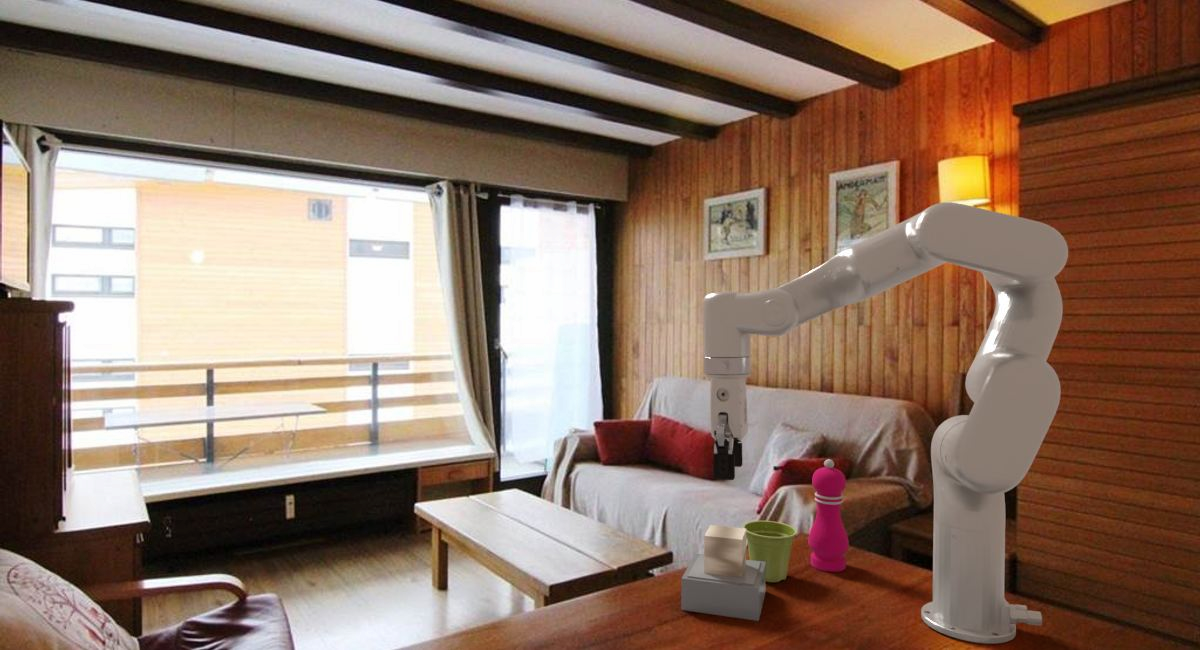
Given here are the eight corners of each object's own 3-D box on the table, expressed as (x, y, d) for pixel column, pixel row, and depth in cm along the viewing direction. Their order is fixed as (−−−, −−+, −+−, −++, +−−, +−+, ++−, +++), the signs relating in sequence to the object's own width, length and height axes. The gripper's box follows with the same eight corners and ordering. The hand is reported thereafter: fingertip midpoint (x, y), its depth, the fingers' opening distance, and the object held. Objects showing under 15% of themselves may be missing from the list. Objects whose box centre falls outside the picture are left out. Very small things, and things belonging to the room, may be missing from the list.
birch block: (746, 564, 114) (746, 528, 114) (741, 577, 108) (742, 539, 108) (710, 560, 116) (710, 524, 115) (704, 572, 110) (704, 535, 110)
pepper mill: (821, 556, 133) (822, 453, 132) (856, 567, 127) (857, 460, 127) (800, 564, 128) (801, 458, 128) (834, 576, 122) (835, 465, 122)
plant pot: (791, 568, 126) (791, 521, 126) (800, 588, 117) (801, 537, 117) (739, 565, 127) (740, 519, 127) (745, 585, 118) (746, 535, 118)
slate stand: (765, 591, 116) (765, 560, 115) (758, 620, 104) (758, 587, 104) (695, 581, 119) (695, 552, 119) (681, 609, 108) (681, 577, 108)
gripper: (744, 372, 102) (745, 486, 102) (755, 364, 118) (757, 462, 118) (694, 371, 104) (696, 483, 104) (712, 364, 121) (714, 460, 121)
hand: (728, 472), depth 111 cm, fingers open, 9 cm apart
